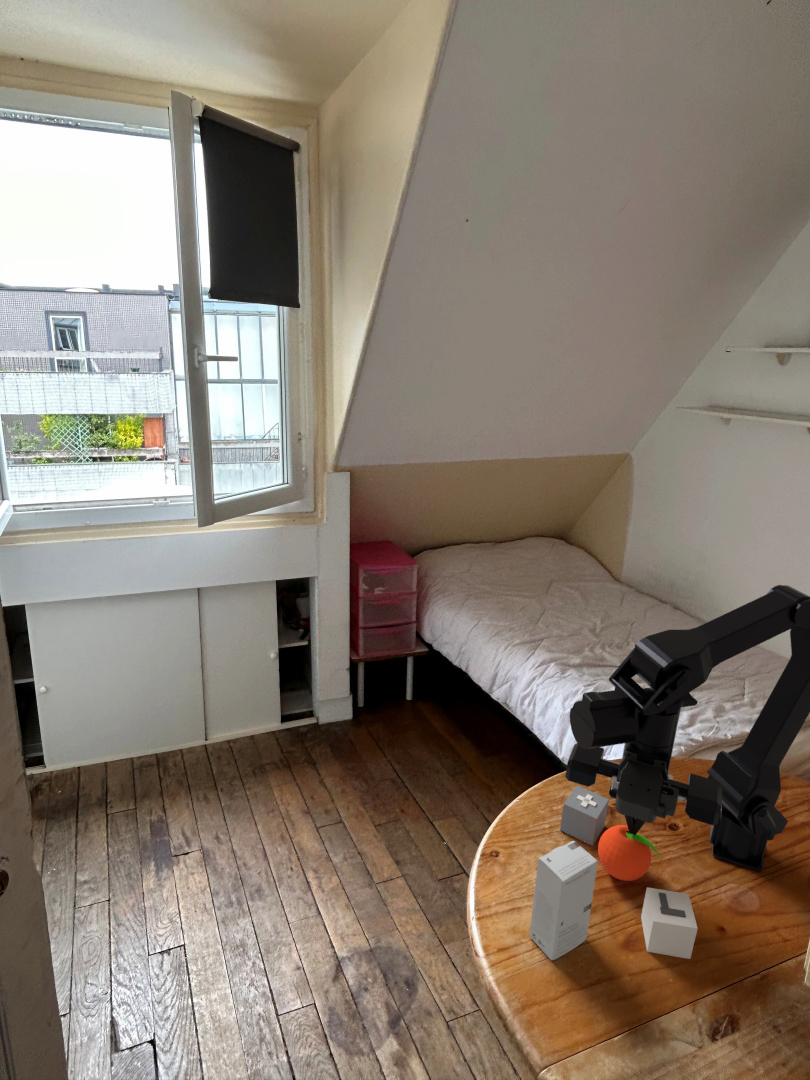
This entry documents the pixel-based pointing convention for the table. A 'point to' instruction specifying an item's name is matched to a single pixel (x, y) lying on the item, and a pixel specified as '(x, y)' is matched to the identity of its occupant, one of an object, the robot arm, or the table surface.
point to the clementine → (625, 853)
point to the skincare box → (562, 899)
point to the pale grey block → (668, 923)
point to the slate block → (584, 815)
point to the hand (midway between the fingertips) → (632, 832)
